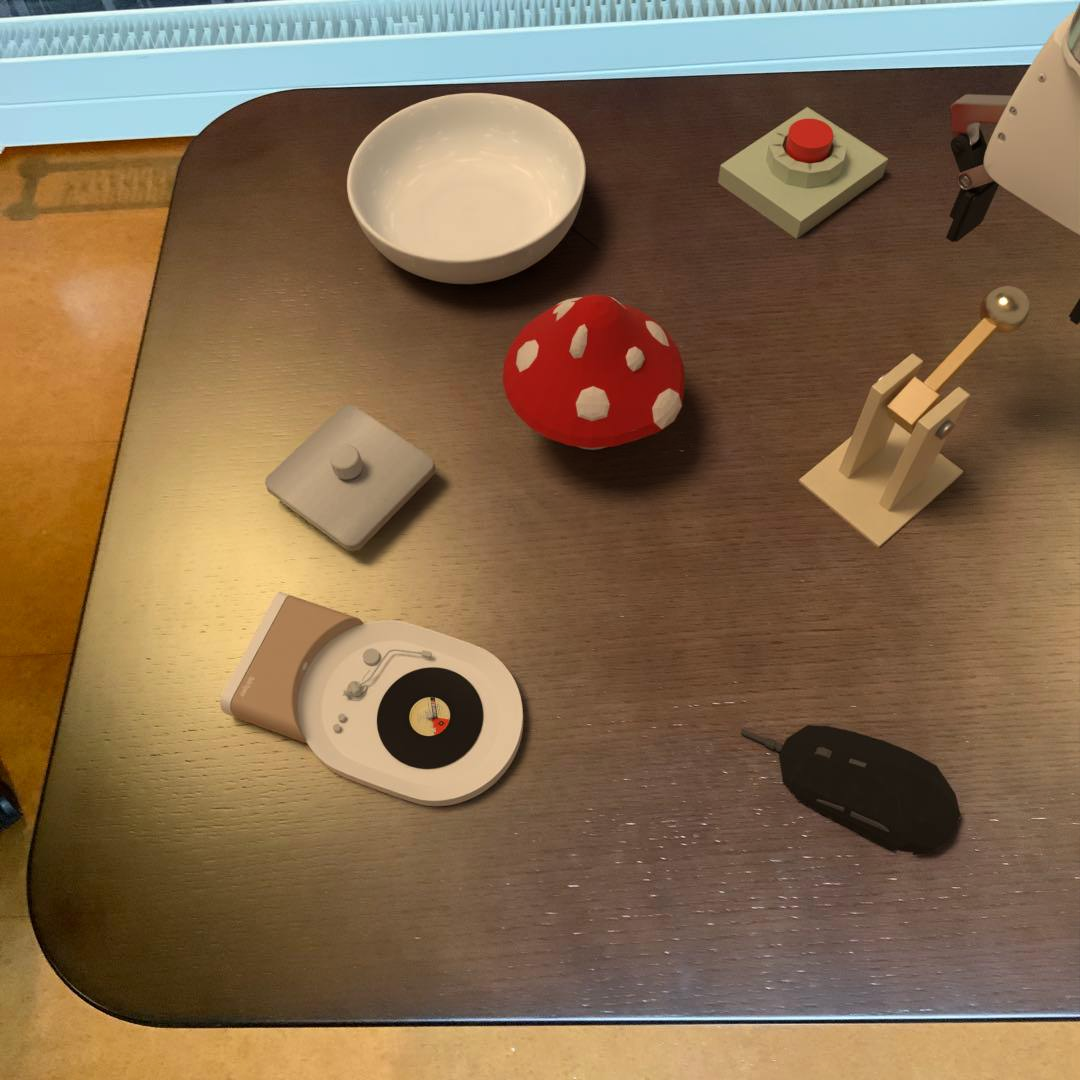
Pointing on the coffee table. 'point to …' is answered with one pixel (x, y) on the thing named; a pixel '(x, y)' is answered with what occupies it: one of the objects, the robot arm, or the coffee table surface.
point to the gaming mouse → (869, 787)
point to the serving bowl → (467, 186)
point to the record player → (380, 701)
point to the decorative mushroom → (594, 374)
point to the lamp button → (809, 140)
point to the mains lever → (960, 355)
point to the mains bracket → (888, 461)
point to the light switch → (350, 477)
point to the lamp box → (801, 177)
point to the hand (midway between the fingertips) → (1022, 270)
